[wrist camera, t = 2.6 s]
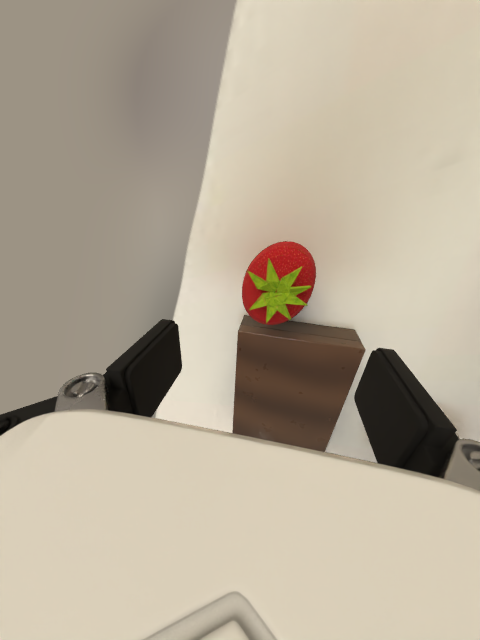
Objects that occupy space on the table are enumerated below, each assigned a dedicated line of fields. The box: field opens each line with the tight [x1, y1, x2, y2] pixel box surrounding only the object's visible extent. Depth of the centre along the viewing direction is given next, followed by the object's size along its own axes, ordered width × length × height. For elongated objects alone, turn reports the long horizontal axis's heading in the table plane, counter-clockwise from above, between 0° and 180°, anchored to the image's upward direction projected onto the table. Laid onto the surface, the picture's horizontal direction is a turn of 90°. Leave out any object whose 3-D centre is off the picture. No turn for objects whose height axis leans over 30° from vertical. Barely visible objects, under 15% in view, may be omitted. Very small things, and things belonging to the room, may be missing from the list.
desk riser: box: [233, 315, 365, 452], centre depth 29 cm, size 20×13×4 cm, turn 177°
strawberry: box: [242, 241, 316, 325], centre depth 19 cm, size 6×8×10 cm
